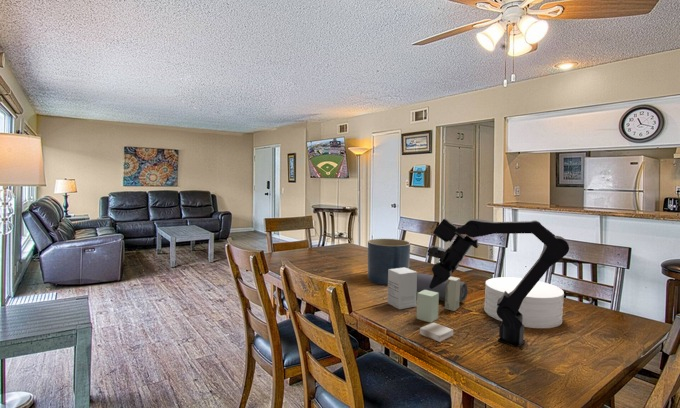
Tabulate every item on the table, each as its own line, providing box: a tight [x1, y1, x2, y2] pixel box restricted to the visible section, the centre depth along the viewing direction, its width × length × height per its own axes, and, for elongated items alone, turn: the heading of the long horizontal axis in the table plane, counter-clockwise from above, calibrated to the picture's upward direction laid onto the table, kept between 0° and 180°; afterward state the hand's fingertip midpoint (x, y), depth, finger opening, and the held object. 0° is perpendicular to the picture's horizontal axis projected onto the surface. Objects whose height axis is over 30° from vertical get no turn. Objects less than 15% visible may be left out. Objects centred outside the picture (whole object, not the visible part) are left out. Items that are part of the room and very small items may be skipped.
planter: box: [367, 238, 411, 286], centre depth 195 cm, size 22×22×20 cm
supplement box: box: [387, 267, 418, 310], centre depth 156 cm, size 9×9×15 cm
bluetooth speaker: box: [417, 272, 469, 303], centre depth 166 cm, size 23×9×10 cm, turn 50°
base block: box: [419, 322, 454, 343], centre depth 127 cm, size 8×8×2 cm
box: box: [444, 276, 461, 312], centre depth 153 cm, size 5×4×13 cm
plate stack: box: [483, 276, 565, 329], centre depth 148 cm, size 28×28×12 cm
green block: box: [416, 290, 440, 324], centre depth 142 cm, size 6×6×10 cm
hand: (433, 284), depth 134 cm, fingers open, 9 cm apart
